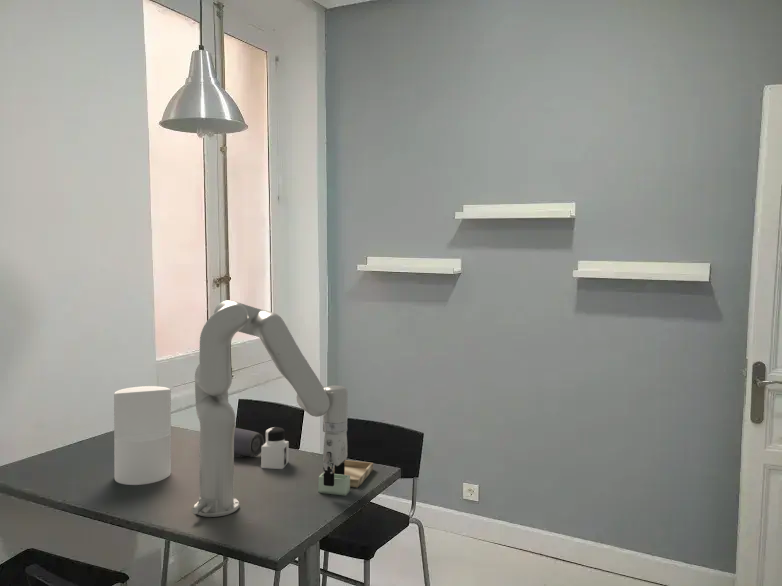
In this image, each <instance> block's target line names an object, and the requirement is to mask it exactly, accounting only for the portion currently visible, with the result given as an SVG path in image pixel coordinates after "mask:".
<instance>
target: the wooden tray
mask: <svg viewBox="0 0 782 586" xmlns="http://www.w3.org/2000/svg"><path fill="white" fill-rule="evenodd" d="M343 463H345V473H344V475H350V488H355V489H357V488H358V489H359V487H360V486H361V485H362V484H363V483H365V482H364V481H365V480H366V479H367V478H368V477H369V476H370V474H371V473H372V472H373V471H374V462H368V461H361V460H360V461H359V460H349V459H345V462H343ZM334 472H335V467H334V471H333V473H334ZM334 474H335V473H334Z"/></svg>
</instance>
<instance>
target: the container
mask: <svg viewBox="0 0 782 586" xmlns="http://www.w3.org/2000/svg"><path fill="white" fill-rule="evenodd" d="M285 435H286V431H285V429H284V428H283V427H278V426H274V427H270V428H268V429H266V430H265V442H264V445H263V446H262V447H261V453H260V454H261V455H260V456H261V457H260V458H261V459H260V460H261V461H260V467H261V469H268V470H269V469H270V470H271V469H272V470H273V469H274V470H283V469H284V468H285V467H286V465H287V464H288V463H289V447H290V443H289V441H288V440H286V437H285Z"/></svg>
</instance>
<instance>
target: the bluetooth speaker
mask: <svg viewBox="0 0 782 586" xmlns="http://www.w3.org/2000/svg"><path fill="white" fill-rule="evenodd" d="M264 444H265V439H264V436H263V434H262V433H259V432H257V431H253V430H249V429H243V428H240V427H235V434H234V458H244V457H257V456H259V455H260V454H261V447H262V446H263V445H264Z"/></svg>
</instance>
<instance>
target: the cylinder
mask: <svg viewBox="0 0 782 586" xmlns="http://www.w3.org/2000/svg"><path fill="white" fill-rule="evenodd" d="M171 393H172V389H171V388H169V387H166V386H159V385H146V386H145V385H143V386H142V385H141V386H134V387H133V386H132V387H125V388H121V389H118V390H116V391H114V393H113V412H114V414H113V423H114V424H113V427H114V428H113V431H114V432H113V434H114V435H113V436H114V437H113V439H114V440H113V441H114V443H113V445H114V450H113V451H114V455H113V457H114V466H113V468H114V473H113V474H114V477H113V479H114V481H115V482H116V483H118V484H121V485H129V486H138V485H139V486H140V485H149V484H153V483H157V482H160V481H163V480H165V479H167V478H168V477H170V475H171V474H172V468H171V467H172V466H171V465H172V464H171V463H172V461H171V459H172V452H171V451H172V448H171V447H172V445H171V444H172V441H171V439H172V436H171V435H172V433H171V431H172V427H171V426H172V425H171V424H172V417H171V416H172V408H171V405H172V403H171V401H172V399H171V398H172V395H171Z"/></svg>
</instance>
